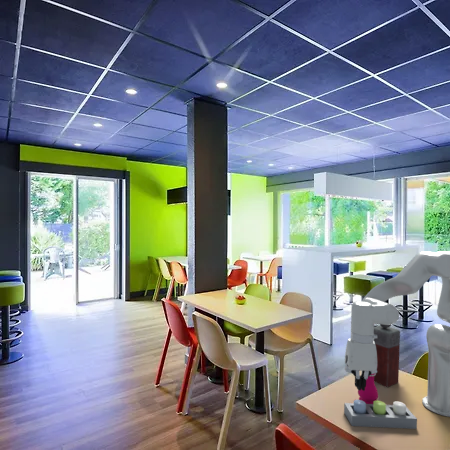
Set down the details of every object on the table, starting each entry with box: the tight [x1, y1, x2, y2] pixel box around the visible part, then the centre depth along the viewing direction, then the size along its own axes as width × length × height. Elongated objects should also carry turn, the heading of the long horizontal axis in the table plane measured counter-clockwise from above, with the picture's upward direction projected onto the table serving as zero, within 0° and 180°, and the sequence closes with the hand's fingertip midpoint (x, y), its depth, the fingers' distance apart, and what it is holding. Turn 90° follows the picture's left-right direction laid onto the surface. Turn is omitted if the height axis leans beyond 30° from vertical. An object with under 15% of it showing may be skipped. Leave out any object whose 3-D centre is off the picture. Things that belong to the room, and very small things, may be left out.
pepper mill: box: [357, 373, 379, 404], centre depth 127 cm, size 7×7×20 cm
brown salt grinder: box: [374, 324, 401, 388], centre depth 147 cm, size 9×11×28 cm
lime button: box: [373, 399, 387, 415], centre depth 117 cm, size 4×4×4 cm
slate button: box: [353, 399, 366, 414], centre depth 117 cm, size 4×4×4 cm
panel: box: [343, 402, 418, 430], centre depth 117 cm, size 22×8×4 cm, turn 88°
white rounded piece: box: [392, 400, 407, 416], centre depth 116 cm, size 4×4×4 cm
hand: (360, 388), depth 117 cm, fingers closed
